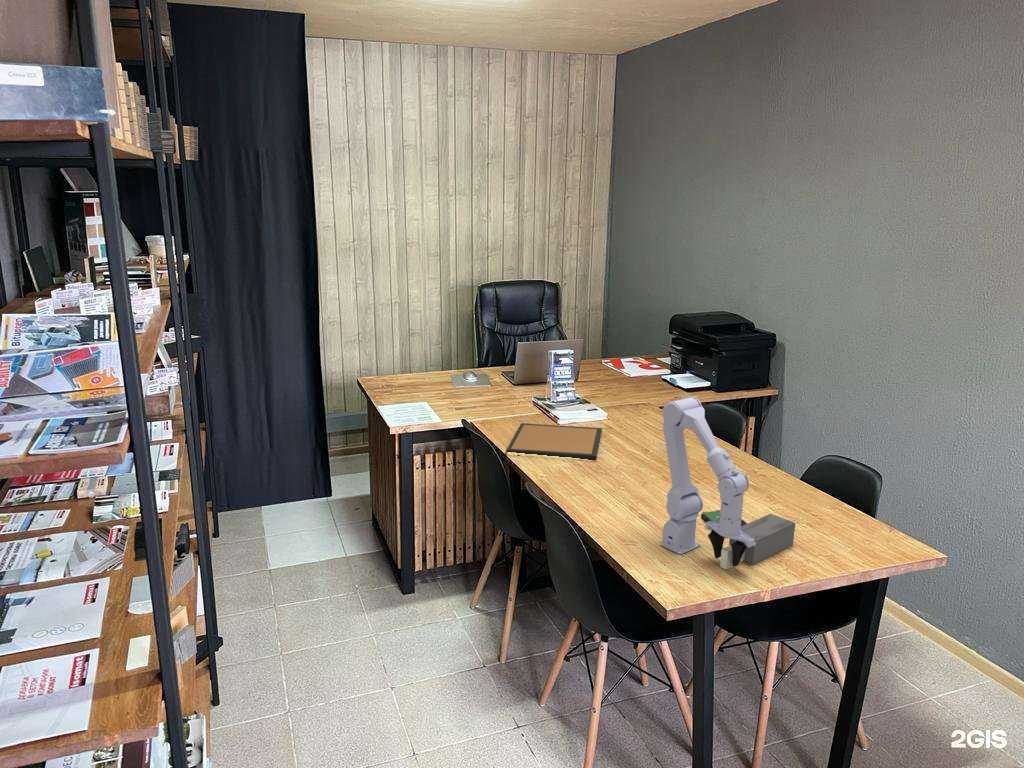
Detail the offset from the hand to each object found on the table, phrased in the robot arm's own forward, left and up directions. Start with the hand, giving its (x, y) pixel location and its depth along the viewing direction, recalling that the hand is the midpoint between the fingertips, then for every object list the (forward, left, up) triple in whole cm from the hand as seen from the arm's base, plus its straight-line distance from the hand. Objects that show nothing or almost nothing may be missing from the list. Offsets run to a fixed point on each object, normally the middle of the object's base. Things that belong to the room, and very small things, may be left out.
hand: (726, 561), depth 208 cm
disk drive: (+22, +16, -2) cm, 27 cm away
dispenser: (+16, 0, -2) cm, 16 cm away
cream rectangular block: (+7, 0, -2) cm, 7 cm away
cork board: (+32, +107, -2) cm, 112 cm away
